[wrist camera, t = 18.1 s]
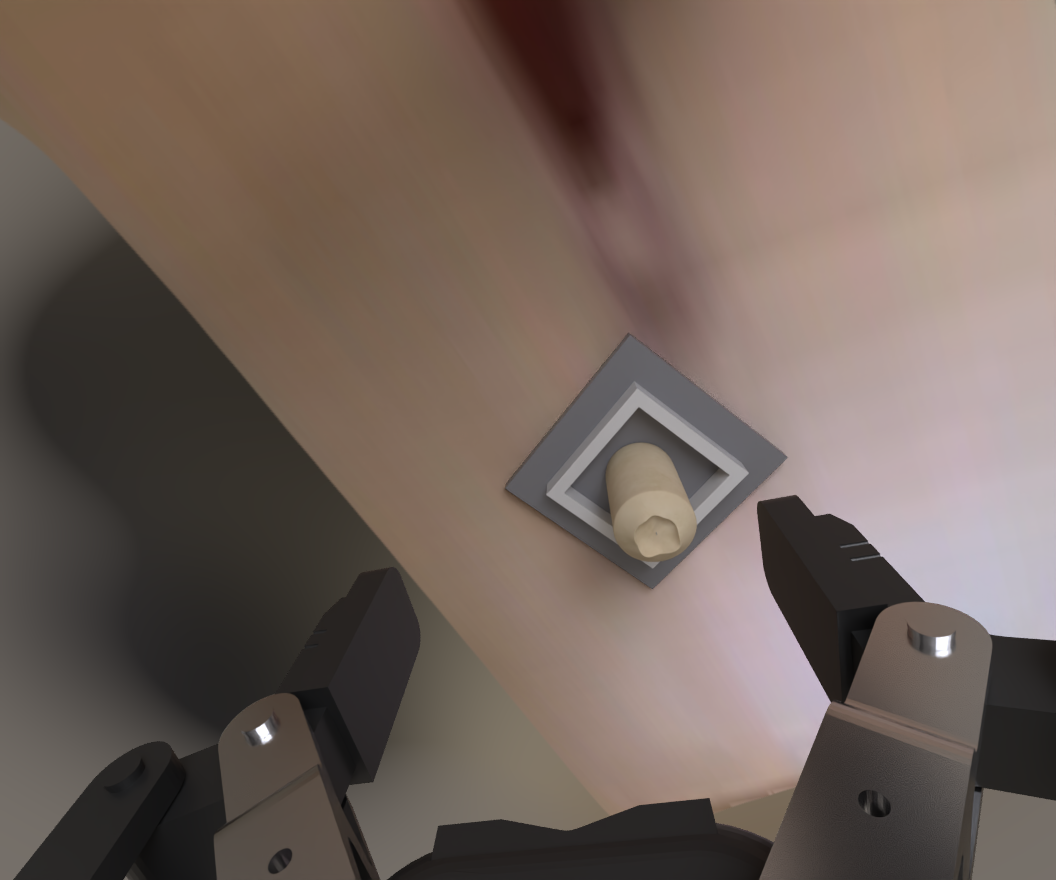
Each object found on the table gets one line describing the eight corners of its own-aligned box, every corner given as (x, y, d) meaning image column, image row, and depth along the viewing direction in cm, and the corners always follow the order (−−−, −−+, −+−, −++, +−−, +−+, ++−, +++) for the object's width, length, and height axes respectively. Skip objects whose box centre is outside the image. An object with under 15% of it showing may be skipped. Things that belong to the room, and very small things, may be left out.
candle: (687, 461, 44) (719, 526, 35) (649, 513, 46) (669, 588, 37) (628, 429, 44) (645, 486, 35) (592, 483, 46) (598, 551, 36)
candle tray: (506, 483, 47) (502, 499, 45) (628, 332, 42) (633, 340, 39) (651, 582, 50) (655, 603, 47) (783, 452, 45) (797, 467, 42)
